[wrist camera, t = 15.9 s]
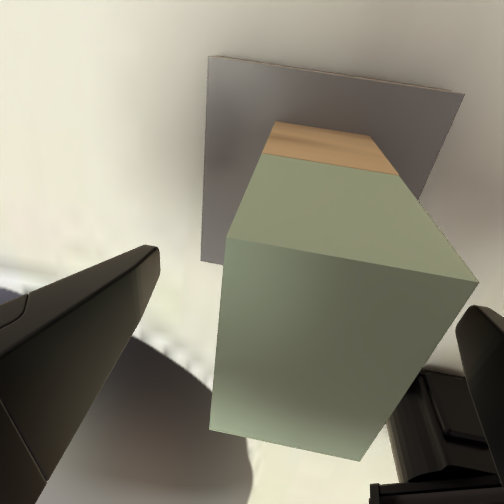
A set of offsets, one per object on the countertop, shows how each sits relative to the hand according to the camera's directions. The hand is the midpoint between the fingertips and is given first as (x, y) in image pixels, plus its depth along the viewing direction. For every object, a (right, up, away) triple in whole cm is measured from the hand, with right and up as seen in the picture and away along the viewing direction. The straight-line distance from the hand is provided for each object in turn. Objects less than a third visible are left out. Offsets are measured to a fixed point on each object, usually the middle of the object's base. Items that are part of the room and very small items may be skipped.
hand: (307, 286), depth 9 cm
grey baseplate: (+1, +5, +7) cm, 8 cm away
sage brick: (0, +1, +2) cm, 2 cm away
